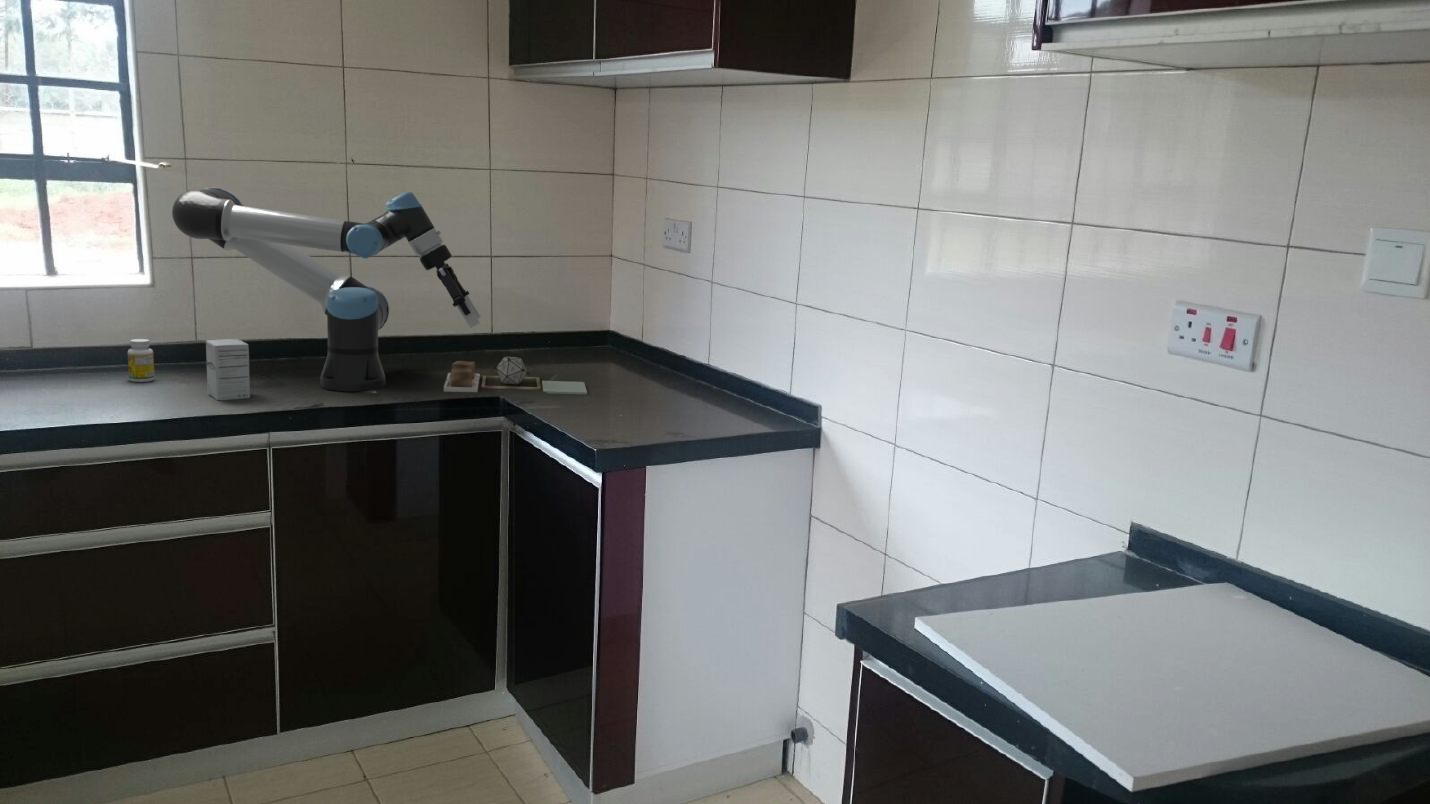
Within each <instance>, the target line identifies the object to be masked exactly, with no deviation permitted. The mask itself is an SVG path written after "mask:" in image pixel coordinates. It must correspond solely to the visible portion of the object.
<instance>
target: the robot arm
mask: <svg viewBox="0 0 1430 804" xmlns="http://www.w3.org/2000/svg"><path fill="white" fill-rule="evenodd" d="M422 205H423V204H421V203H420V201H419V200H418V198H417V197H416V195H414V193H413V192H412V191H405V192H403V193H401V194H398V195H397V196H395V197H394V198H392V199H390V200H389V201H387V202H386V203H385V207H386V208H387V209H386V210H387V211H385V212H384V213H382V214H381V215H379V216H377V217H375V218H373V219H372V220H370V221H368V222H365V223H362V222H358V221H346V220H343V219H341V220H340V219H335V218H327V217H321V216H314V215H309V214H299V213H294V212H286V211H279V210H274V209H273V210H272V209H265V208H257V207H252V206H246V205H244V204H242V202H241V201H240V199H238V197H237V196H236V195H234V193H232V192H230V191H228V190H226V189H222V188H219V187H205V188H202V189H201V188H200V189H198V188H197V189H190V190H186V191H184V192H183V193H182V194H180V195H179V196H178V197H177V198H176V200H175V201H174V203H173V205H172V212H171V214H172V219H173V222H174V224H175V225H176V227H177V228H178V230H179V231H181V232H182V233H183V234H184V235H186V236H188V237H190V238H192V239H198V240H207V239H208V240H209V241H211V243H214V244H215V245H217V246H219V247H220V248H221V249H223V250H225V251H232V250H236V251H238V252H240V254H242V255H243V256H245V257H247V258H248V259H250V260H251V261H254V262H255V264H258V265H260V266H262V267H263V268H264V269H265V270H267V271H268V272H270V273H272V274H273V275H274V276H276V277H278V278H280V279H281V280H283V281H285V282H286V283H287V284H289V285H290V286H292V287H294V289H297V290H298V291H300V292H301V293H302V294H305V295H306V296H307V297H309V298H311V299H312V300H313V301H315V302H316V303H318V304H320V306H321V309H322V313H323V314H324V315H326V317H327V321H326V323H327V329H326V330H327V356H326V359H325V362H324V366H323V369H322V371H321V374H320V387H321V388H323V389H327V390H331V391H335V392H336V391H339V392H367V391H370V390H371V389H372V390H374V389H378V388H382V387H384V386H386V375H385V371H384V369H383V365H382V363H381V360H380V357H379V330H381V329H383V327H385V324H386V323H387V321H388V319H389V315H390V306H389V302H388V299H387V298H386V295H384V293H383V292H381V291H380V290H379V289H378V288H376V287H375V288H374V287H373V286H370V285H366V284H364V283H362V282H361V281H359V280H357V279H356V278H354V277H353V276H352V275H344V276H341V275H339V274H337V273H336V272H334V271H333V270H331V269H330V268H328V267H327V266H326V265H324V264H322V263H321V262H319V261H317V260H316V259H315V258H313V257H312V256H310V255H309V254H307V253H305V252H304V251H302V250H301V249H299V248H298V247H305V248H310V249H311V248H312V249H316V250H325V251H334V252H339V253H340V252H341V253H346V254H353V255H355V256H358V257H361V258H362V259H368V258H371V257H372V256H376V255H377V254H379V252H382V251H383V250H385V249H387V248H389V247H391V246H392V245H394V244H396V243H397V242H399V241H401V240H403V239H406V240H407V242H408V244H409V245H410V248H411V250H412V251H413V252H414V254H415V255H416V256H417V257H419V261H420V263H421V265H422V266H423V267H424V269H425V271H430V270H431V269H434V268H435V269H436V276H437V278H438V280H439V281H441V283H442V285H443V287H444V288H445V289H446V290H447V292H448V294H449V296H450V297H451V299H452V302H453V303H452V306H453V307H454V308H455V307H457V309H458V311H460V313H461V315H462V317H463V318H464V320H465V321H466V323H467V326H469V328H470V329H472V328H473V327H475V326H477V325H479V324H480V323H481V322H480V320H479V318H481V315H480V313H479V312H478V310H477V308H476V306H475V305H474V303H473V301H472V300H471V298H470V297H469V295H470V292H469V290H466V289H464V287H463V286H462V284H461V282H460V281H459V280H458V277H457V275H456V273H455V271H454V269H453V268H452V266H449V264H448V263H447V262H446V261H448V260H449V259H450V258H452V253H451V252H450V250H449V248H448V247H447V245H446V244H442V243H443V242H444V240H443V239H442V237H441V236H440V235H441V231H440V230H437V229H436V228H435V225H433V222H432V221H431V219H430V217H429V216H428V214H427V213H426V211H425V209H424V207H423V206H422ZM296 246H297V247H296Z"/></svg>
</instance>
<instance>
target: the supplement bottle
mask: <svg viewBox="0 0 1430 804" xmlns="http://www.w3.org/2000/svg"><path fill="white" fill-rule="evenodd" d="M150 345H151V344H150V340H149V339H145V338H135V339H130V341H129V346H130V347H131V348H129V349H128V350H127V367H128V380H129V381H130V382H133V383H147V382H153V381H154V380H155V364H154V350H153V349H152V348H150Z"/></svg>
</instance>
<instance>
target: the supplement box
mask: <svg viewBox="0 0 1430 804" xmlns="http://www.w3.org/2000/svg"><path fill="white" fill-rule="evenodd" d="M249 346H250V345H249V344H248V343H246V342H244V341H242V340H241V339H239V338H229V339H224V338H223V339H209V340H208V339H207V340H205V349H206V350H205V353H206V354H205V356H206V358H205V359H206V379H207V380H206V383H207V387H206V388H207V394H208V395H210V396H211V397H213V398H214V399H215V400H217V401H228V400H229V401H230V400H242V399H250V398H251V387H250V382H251V381H250V380H251V379H250V352H249V351H250V349H249V348H250V347H249Z"/></svg>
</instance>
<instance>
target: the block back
mask: <svg viewBox="0 0 1430 804" xmlns="http://www.w3.org/2000/svg"><path fill="white" fill-rule="evenodd" d="M475 368H476V361H466V360H456V361H455V362H453V363H452V364H451V369H470V370H471V371H472V379H475V374H476V369H475Z"/></svg>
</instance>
